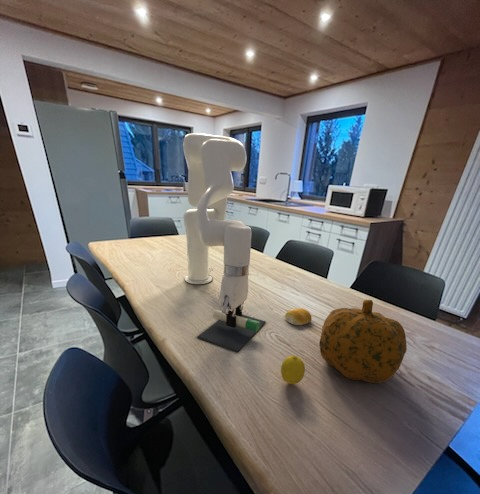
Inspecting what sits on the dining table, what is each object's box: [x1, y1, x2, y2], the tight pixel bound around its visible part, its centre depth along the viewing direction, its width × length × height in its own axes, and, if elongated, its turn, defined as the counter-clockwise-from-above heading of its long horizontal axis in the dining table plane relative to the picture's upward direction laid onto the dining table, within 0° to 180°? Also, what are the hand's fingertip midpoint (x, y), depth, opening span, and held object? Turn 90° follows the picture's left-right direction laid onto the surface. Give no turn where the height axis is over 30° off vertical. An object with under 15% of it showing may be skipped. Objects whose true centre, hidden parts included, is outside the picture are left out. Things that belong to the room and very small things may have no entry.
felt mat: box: [197, 314, 266, 353], centre depth 85 cm, size 20×14×1 cm
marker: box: [212, 309, 260, 333], centre depth 84 cm, size 15×3×3 cm, turn 62°
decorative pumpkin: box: [318, 299, 408, 384], centre depth 67 cm, size 20×21×20 cm
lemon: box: [280, 355, 306, 385], centre depth 63 cm, size 6×6×8 cm
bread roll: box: [284, 308, 312, 326], centre depth 93 cm, size 8×9×4 cm
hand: (233, 323), depth 84 cm, fingers closed on marker, 3 cm apart
